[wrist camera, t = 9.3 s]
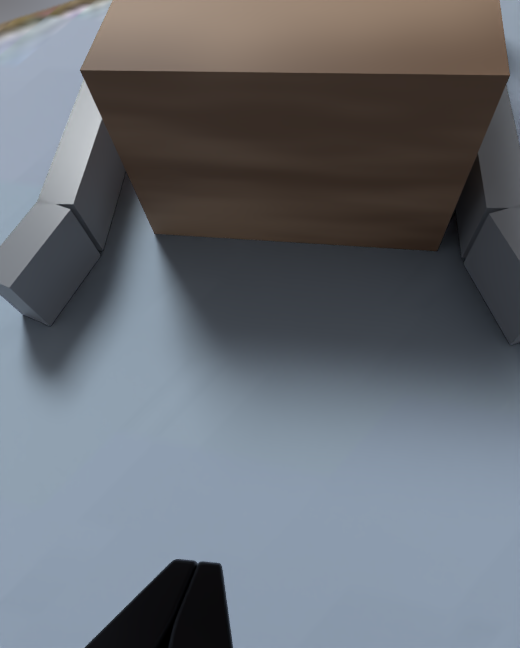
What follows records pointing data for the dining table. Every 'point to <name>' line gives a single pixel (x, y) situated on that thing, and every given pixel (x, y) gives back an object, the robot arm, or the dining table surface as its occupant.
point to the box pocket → (105, 184)
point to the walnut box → (299, 114)
